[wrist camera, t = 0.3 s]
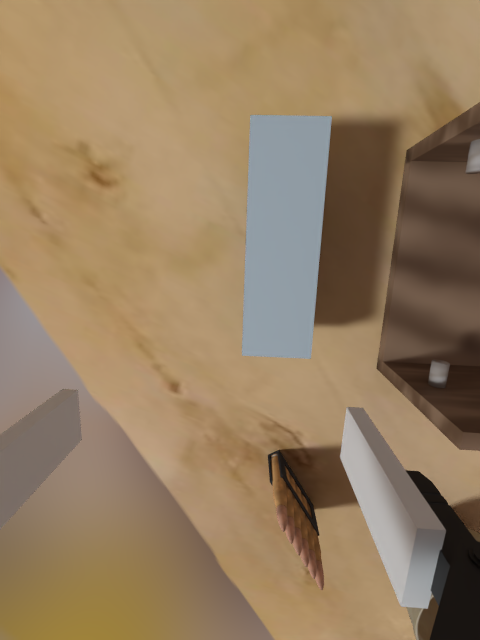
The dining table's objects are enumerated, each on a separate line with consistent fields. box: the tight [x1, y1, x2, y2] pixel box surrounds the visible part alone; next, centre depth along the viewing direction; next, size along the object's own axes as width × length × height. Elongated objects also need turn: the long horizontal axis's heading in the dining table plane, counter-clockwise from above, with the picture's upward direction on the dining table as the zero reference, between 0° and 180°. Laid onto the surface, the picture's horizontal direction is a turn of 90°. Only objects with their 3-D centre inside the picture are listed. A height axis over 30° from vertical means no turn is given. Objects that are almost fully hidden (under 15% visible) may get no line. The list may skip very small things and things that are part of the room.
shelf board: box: [242, 115, 332, 359], centre depth 31 cm, size 22×7×4 cm, turn 178°
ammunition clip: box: [268, 450, 324, 590], centre depth 39 cm, size 11×2×12 cm, turn 30°
